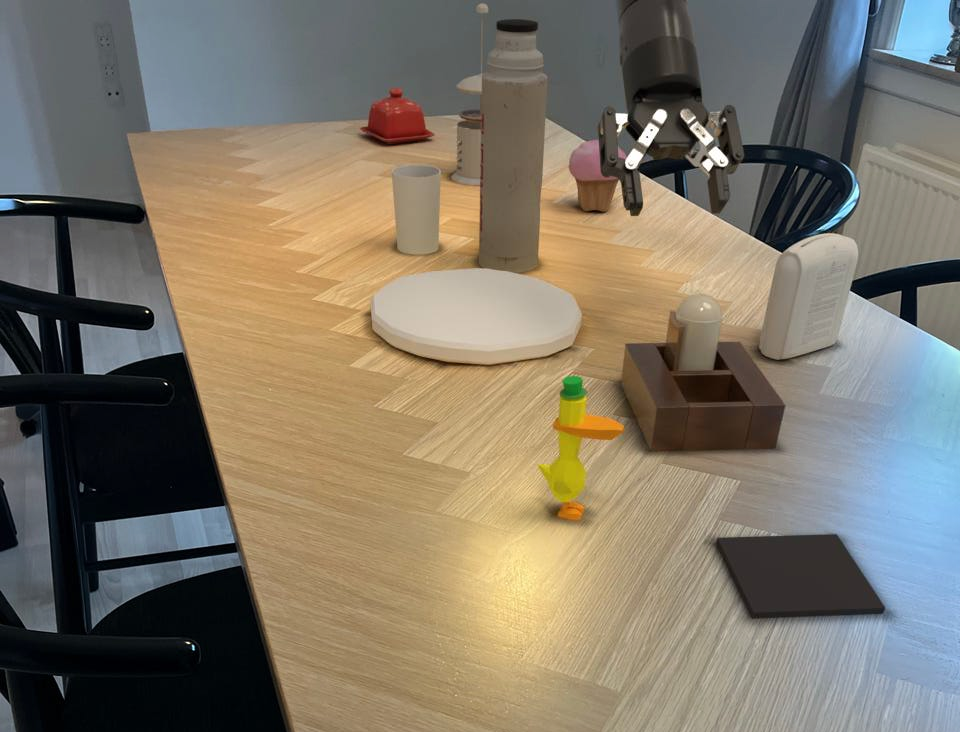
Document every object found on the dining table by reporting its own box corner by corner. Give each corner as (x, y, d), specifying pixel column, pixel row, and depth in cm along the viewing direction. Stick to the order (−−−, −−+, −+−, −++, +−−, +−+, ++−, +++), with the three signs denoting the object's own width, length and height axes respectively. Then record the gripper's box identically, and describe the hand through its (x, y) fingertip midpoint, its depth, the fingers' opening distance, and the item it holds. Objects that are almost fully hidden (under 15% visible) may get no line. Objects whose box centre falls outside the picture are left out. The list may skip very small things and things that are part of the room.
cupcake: (619, 202, 156) (627, 133, 150) (625, 218, 149) (632, 147, 143) (564, 201, 156) (568, 132, 150) (566, 217, 149) (571, 145, 143)
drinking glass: (435, 239, 140) (434, 163, 134) (446, 253, 135) (446, 176, 129) (390, 242, 138) (386, 165, 132) (399, 257, 133) (396, 178, 127)
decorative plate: (618, 316, 107) (397, 339, 101) (614, 352, 109) (398, 377, 103) (539, 246, 125) (348, 262, 119) (537, 279, 128) (350, 296, 122)
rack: (732, 382, 104) (739, 341, 101) (775, 449, 92) (785, 404, 89) (620, 384, 103) (625, 343, 100) (650, 452, 91) (656, 407, 89)
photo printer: (812, 333, 115) (838, 223, 107) (841, 345, 112) (870, 233, 104) (751, 352, 110) (773, 238, 102) (780, 365, 107) (806, 249, 100)
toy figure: (615, 509, 83) (631, 376, 76) (609, 531, 81) (625, 395, 73) (537, 498, 84) (545, 366, 77) (529, 520, 82) (536, 385, 74)
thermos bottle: (471, 269, 130) (473, 22, 112) (488, 251, 136) (494, 14, 118) (528, 276, 128) (540, 26, 111) (544, 258, 134) (558, 18, 116)
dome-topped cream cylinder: (701, 389, 102) (718, 286, 95) (712, 409, 99) (731, 303, 92) (658, 390, 102) (672, 287, 95) (668, 409, 98) (683, 303, 92)
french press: (441, 181, 164) (440, 4, 148) (468, 165, 172) (470, -3, 157) (495, 188, 161) (500, 9, 146) (520, 172, 170) (527, 1, 154)
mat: (835, 539, 80) (836, 533, 80) (883, 614, 72) (885, 607, 72) (715, 543, 79) (717, 537, 79) (751, 618, 72) (753, 612, 71)
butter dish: (438, 141, 186) (438, 91, 181) (384, 148, 181) (382, 96, 176) (409, 129, 194) (408, 80, 188) (357, 135, 189) (354, 85, 183)
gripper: (599, 33, 94) (619, 192, 93) (739, 32, 96) (761, 187, 95) (582, 85, 102) (600, 233, 100) (712, 83, 104) (732, 228, 102)
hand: (678, 211), depth 98 cm, fingers open, 8 cm apart
